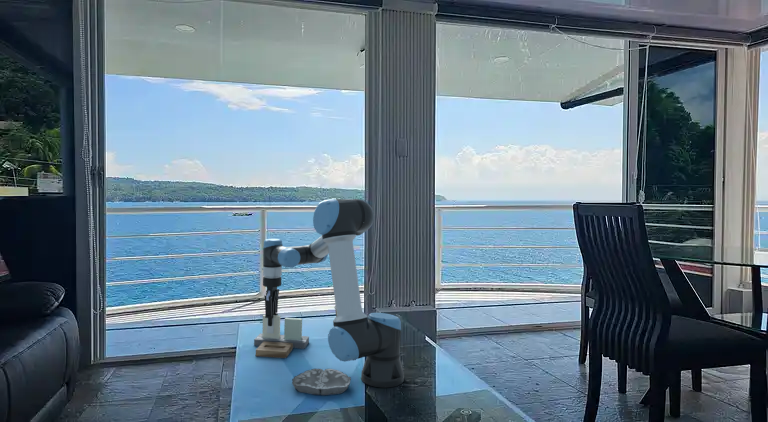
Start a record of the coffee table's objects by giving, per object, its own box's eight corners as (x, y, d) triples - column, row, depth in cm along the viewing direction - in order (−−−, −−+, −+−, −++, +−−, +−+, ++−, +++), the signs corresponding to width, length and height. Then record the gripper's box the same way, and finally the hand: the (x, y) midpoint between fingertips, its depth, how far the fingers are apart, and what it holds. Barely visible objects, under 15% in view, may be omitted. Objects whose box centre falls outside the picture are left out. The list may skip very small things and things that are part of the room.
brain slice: (351, 377, 186) (351, 369, 186) (349, 398, 169) (349, 389, 169) (296, 375, 186) (296, 367, 185) (288, 396, 169) (289, 388, 168)
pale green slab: (278, 342, 216) (279, 316, 215) (262, 341, 217) (262, 315, 216) (279, 341, 218) (280, 315, 217) (263, 340, 218) (263, 314, 217)
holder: (286, 358, 201) (286, 351, 201) (255, 356, 202) (255, 349, 202) (292, 349, 211) (292, 343, 211) (263, 347, 212) (263, 341, 212)
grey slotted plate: (304, 348, 212) (304, 342, 212) (254, 345, 214) (254, 339, 214) (308, 342, 220) (309, 336, 220) (260, 339, 222) (260, 333, 222)
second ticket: (300, 345, 216) (301, 319, 215) (284, 344, 216) (284, 318, 215) (301, 344, 217) (302, 318, 216) (285, 343, 218) (285, 317, 217)
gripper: (268, 272, 223) (267, 326, 225) (257, 279, 208) (256, 337, 210) (285, 273, 222) (284, 327, 224) (276, 280, 208) (275, 338, 209)
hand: (271, 332), depth 217 cm, fingers closed on pale green slab, 2 cm apart
